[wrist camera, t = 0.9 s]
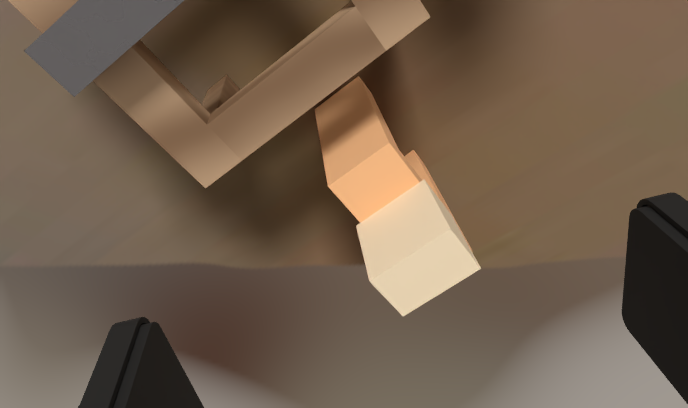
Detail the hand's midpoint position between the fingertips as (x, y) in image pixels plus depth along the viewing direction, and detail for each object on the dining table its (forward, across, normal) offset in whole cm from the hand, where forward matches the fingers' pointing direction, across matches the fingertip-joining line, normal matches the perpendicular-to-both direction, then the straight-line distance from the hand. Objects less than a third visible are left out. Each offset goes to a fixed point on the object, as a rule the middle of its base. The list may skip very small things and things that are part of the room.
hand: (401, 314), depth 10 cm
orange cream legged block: (+29, -2, +9) cm, 30 cm away
